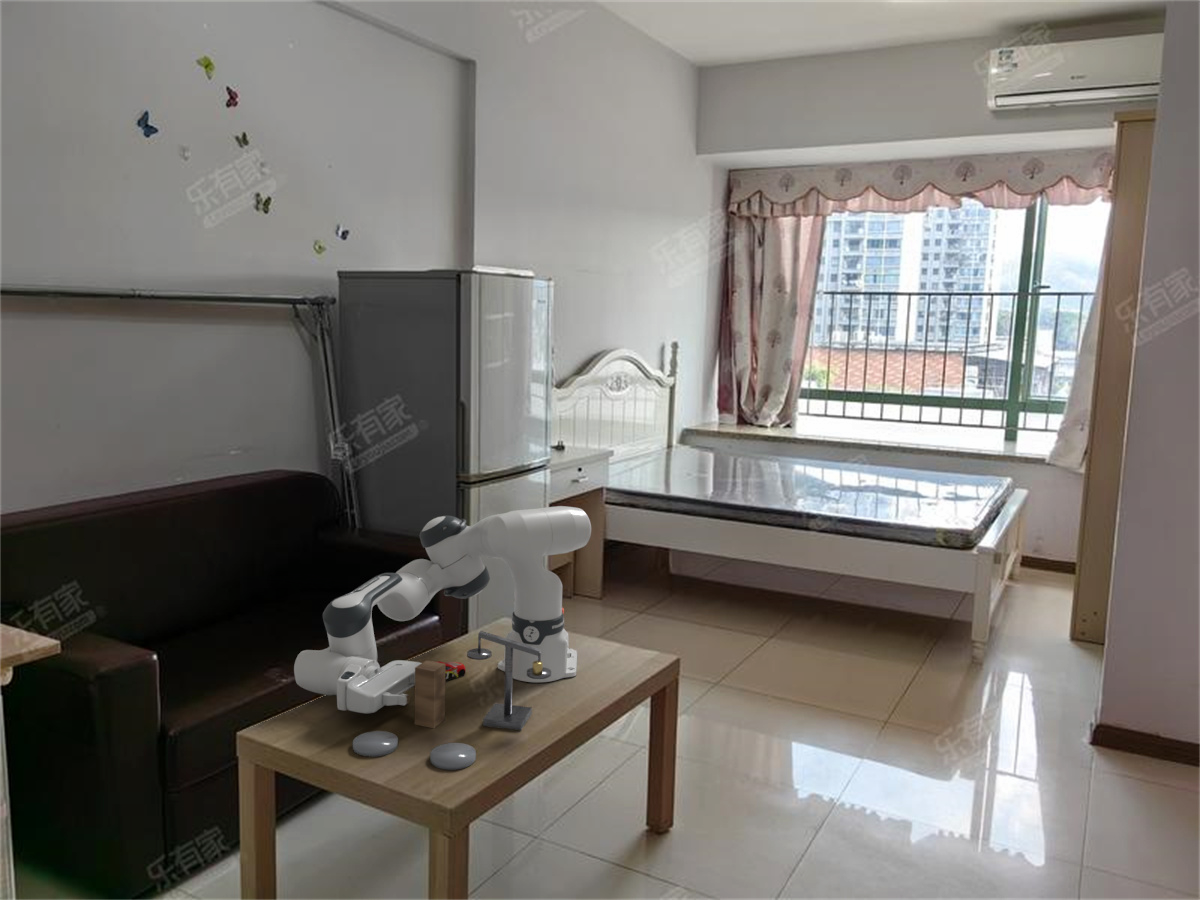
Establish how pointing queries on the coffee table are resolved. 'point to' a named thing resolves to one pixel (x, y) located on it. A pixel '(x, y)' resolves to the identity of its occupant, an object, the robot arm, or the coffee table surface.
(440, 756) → the grey flat pebble
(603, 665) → the coffee table surface
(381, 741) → the grey oval dome
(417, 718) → the pillar
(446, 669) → the race car
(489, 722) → the balance
